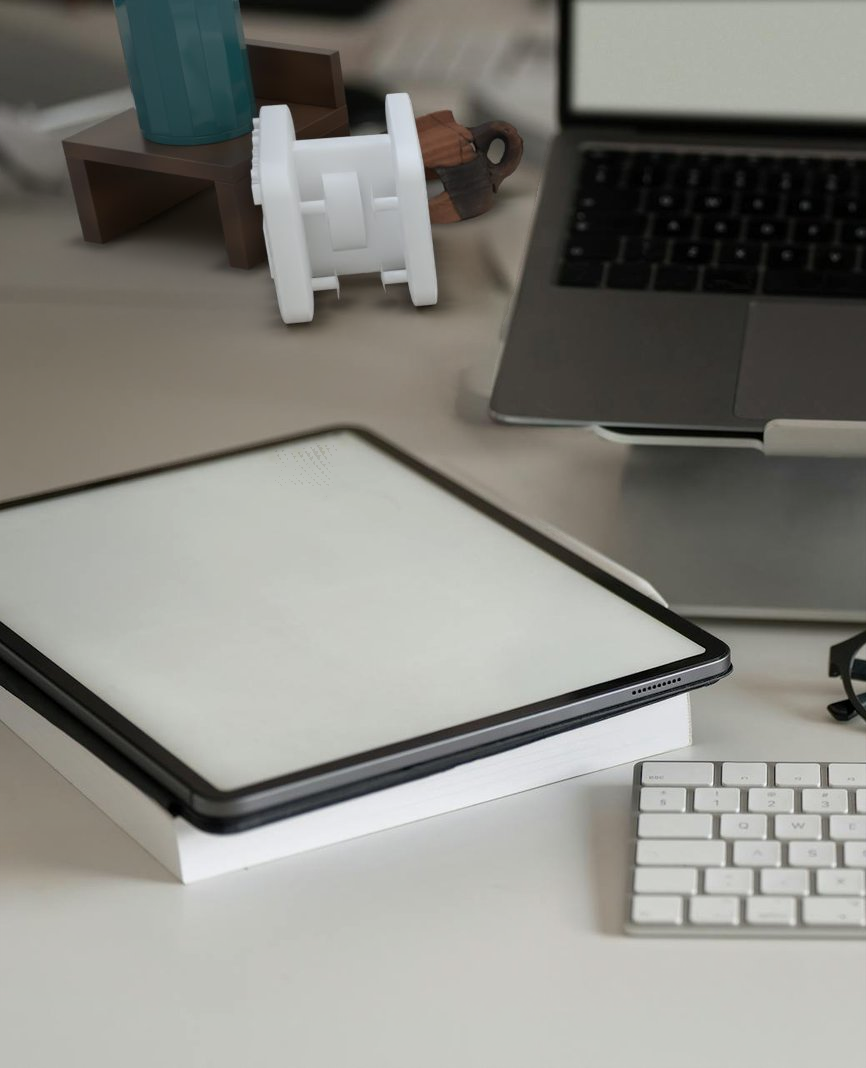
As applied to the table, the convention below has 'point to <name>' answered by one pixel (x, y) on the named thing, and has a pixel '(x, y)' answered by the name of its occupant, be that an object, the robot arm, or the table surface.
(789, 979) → the table surface
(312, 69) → the desk shelf
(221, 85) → the teal cup
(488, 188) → the pottery mug
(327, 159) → the cable organizer
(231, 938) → the table surface
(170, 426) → the table surface
